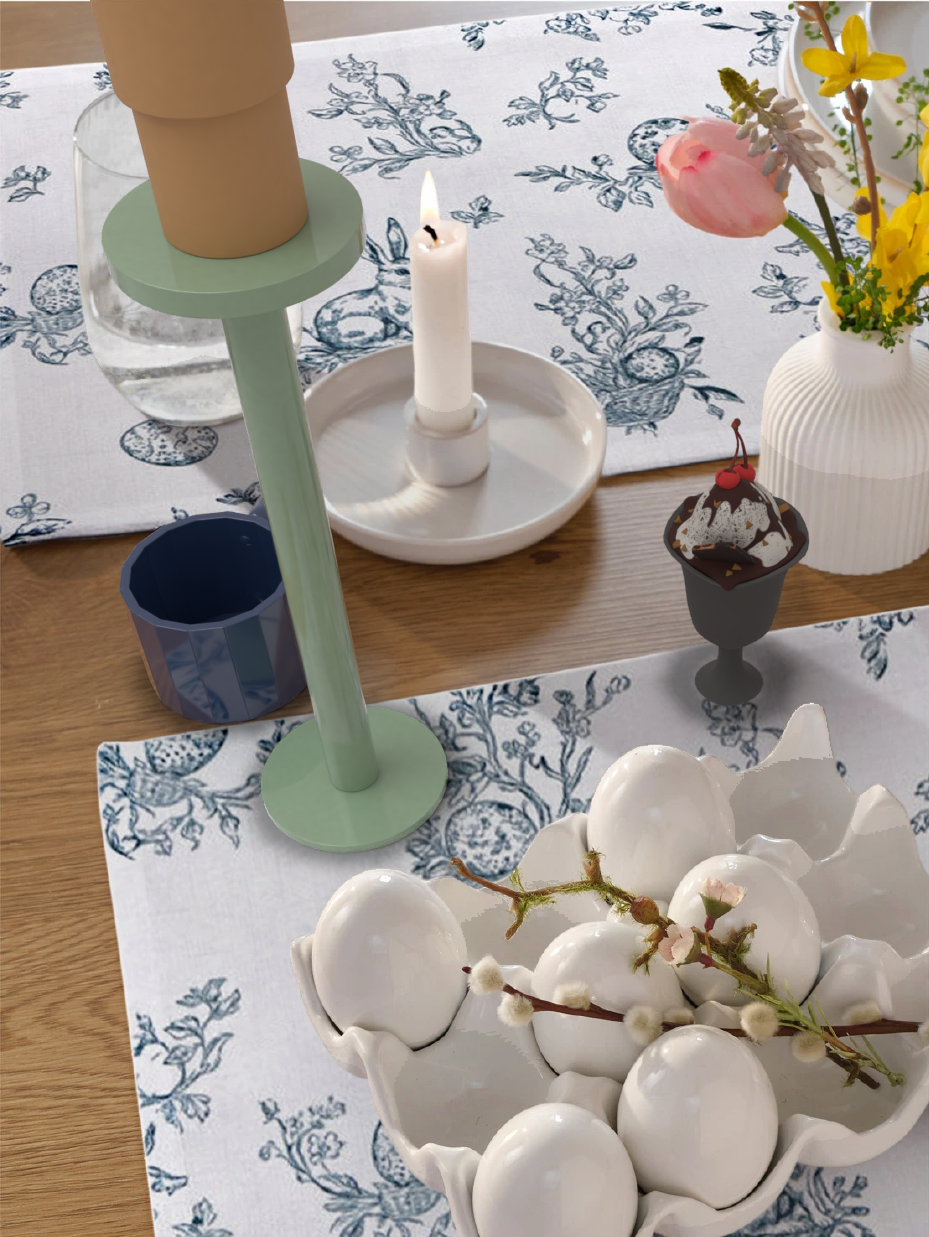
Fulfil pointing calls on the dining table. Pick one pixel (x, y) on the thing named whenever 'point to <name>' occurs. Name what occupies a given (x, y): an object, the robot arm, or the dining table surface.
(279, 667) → the mug
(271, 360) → the green pedestal stand
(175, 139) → the paper cup
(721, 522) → the sundae
